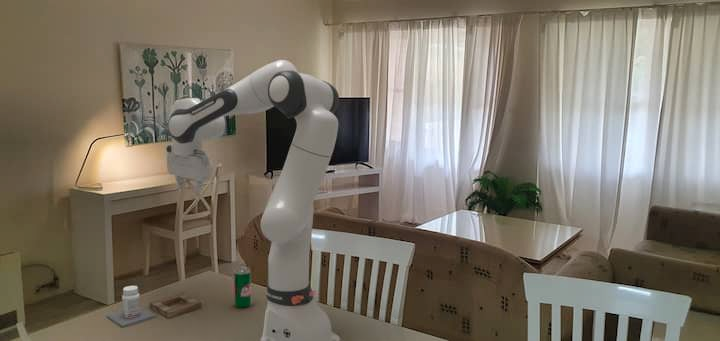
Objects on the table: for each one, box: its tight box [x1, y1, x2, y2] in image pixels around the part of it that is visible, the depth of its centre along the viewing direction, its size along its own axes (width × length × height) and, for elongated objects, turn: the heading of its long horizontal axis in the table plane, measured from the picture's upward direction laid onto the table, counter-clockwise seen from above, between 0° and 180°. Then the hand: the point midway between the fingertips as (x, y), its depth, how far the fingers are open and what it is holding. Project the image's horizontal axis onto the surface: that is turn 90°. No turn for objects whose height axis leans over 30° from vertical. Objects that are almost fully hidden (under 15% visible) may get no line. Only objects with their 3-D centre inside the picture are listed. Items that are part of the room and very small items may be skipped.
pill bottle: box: [121, 285, 141, 318], centre depth 159 cm, size 5×5×8 cm
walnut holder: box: [149, 292, 202, 319], centre depth 167 cm, size 11×11×2 cm
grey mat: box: [106, 305, 157, 328], centre depth 160 cm, size 10×10×1 cm
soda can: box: [233, 266, 252, 309], centre depth 170 cm, size 5×5×12 cm
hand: (189, 191), depth 176 cm, fingers open, 8 cm apart
